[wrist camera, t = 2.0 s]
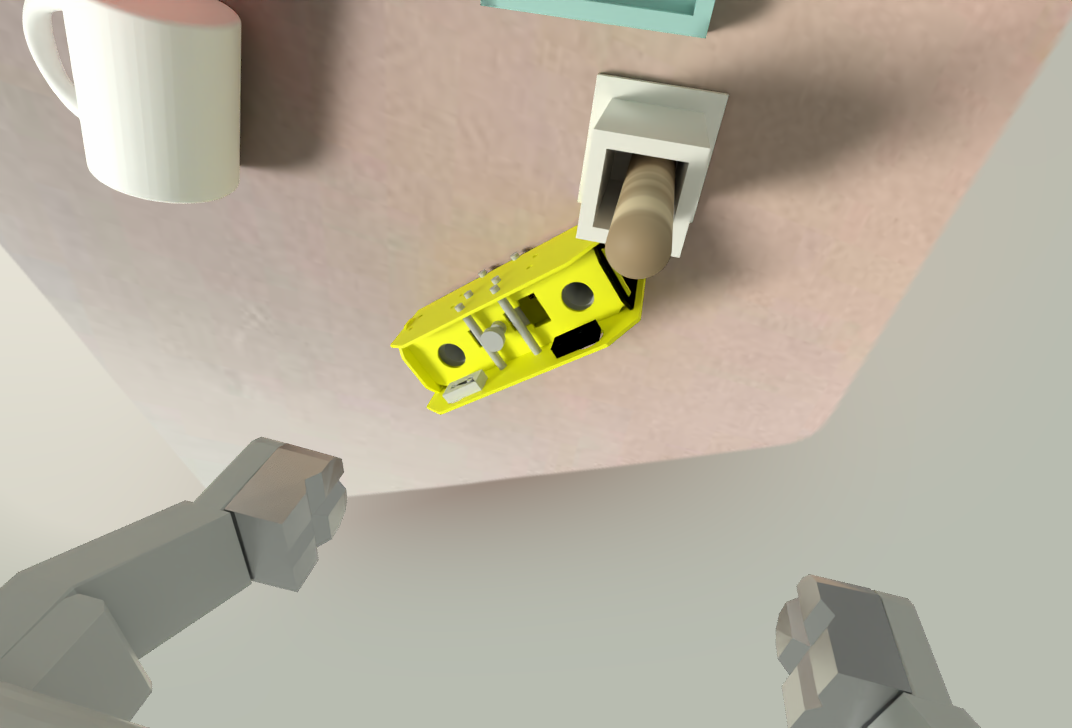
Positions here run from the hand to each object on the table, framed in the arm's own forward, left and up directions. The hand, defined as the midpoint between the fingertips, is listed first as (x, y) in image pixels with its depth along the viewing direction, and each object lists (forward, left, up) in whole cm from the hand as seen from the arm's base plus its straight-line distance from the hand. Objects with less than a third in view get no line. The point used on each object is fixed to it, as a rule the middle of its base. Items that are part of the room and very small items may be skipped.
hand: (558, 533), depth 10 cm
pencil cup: (0, 0, -28) cm, 28 cm away
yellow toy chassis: (+10, -6, -28) cm, 31 cm away
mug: (0, -30, -28) cm, 41 cm away
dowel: (0, +1, -27) cm, 27 cm away
